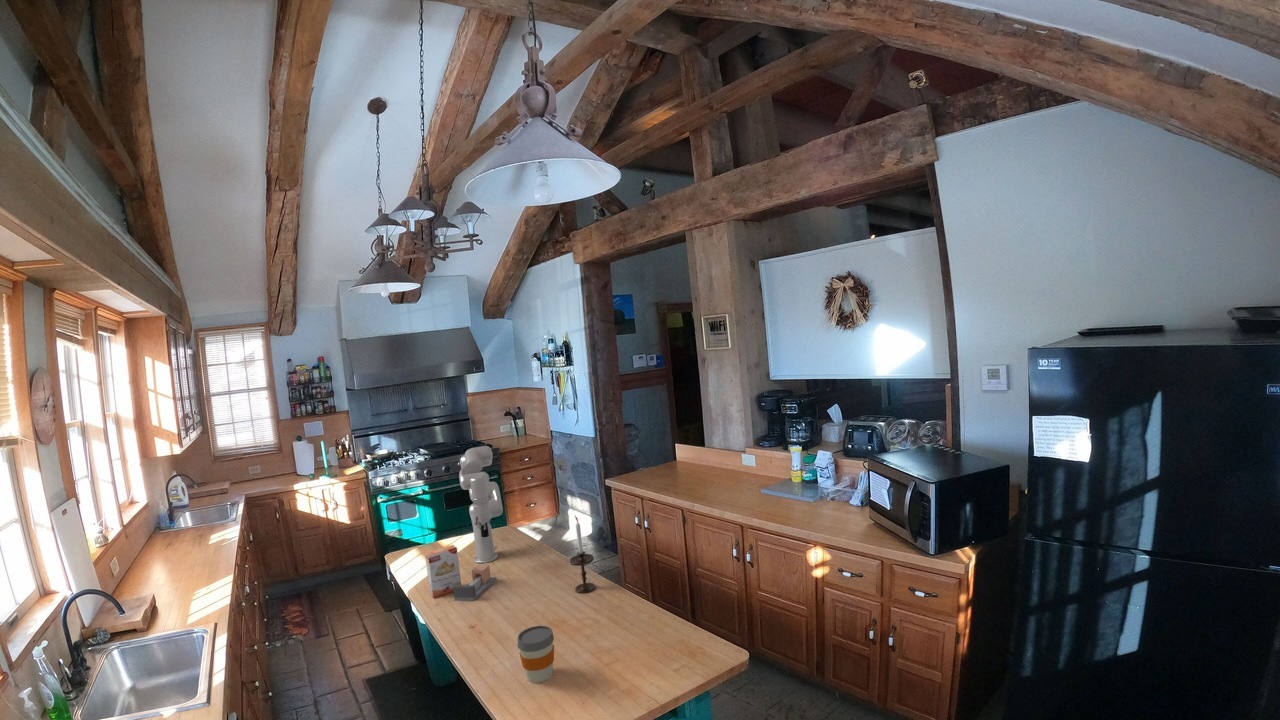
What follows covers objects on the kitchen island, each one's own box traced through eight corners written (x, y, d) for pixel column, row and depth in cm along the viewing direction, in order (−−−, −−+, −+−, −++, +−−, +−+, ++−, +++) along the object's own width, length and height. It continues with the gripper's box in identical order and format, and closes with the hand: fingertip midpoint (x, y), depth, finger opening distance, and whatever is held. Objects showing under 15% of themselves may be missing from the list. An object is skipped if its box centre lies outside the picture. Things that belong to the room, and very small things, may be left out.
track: (478, 579, 304) (477, 567, 304) (496, 579, 302) (495, 567, 301) (454, 600, 283) (452, 587, 283) (473, 600, 280) (472, 587, 280)
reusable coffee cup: (559, 663, 220) (554, 623, 219) (556, 683, 208) (550, 641, 207) (524, 667, 220) (519, 627, 219) (519, 688, 207) (513, 646, 206)
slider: (479, 578, 302) (477, 565, 301) (490, 578, 300) (489, 565, 300) (473, 583, 296) (471, 570, 296) (484, 583, 294) (483, 570, 294)
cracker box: (433, 598, 288) (427, 555, 286) (429, 595, 293) (424, 552, 291) (462, 588, 296) (457, 546, 294) (458, 585, 301) (453, 543, 299)
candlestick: (570, 594, 276) (561, 519, 274) (578, 583, 287) (569, 511, 285) (592, 594, 274) (584, 518, 271) (600, 583, 284) (591, 510, 282)
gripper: (481, 496, 312) (485, 531, 313) (466, 505, 297) (470, 542, 298) (494, 495, 310) (499, 531, 311) (479, 505, 295) (484, 542, 296)
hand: (485, 536), depth 305 cm, fingers closed
